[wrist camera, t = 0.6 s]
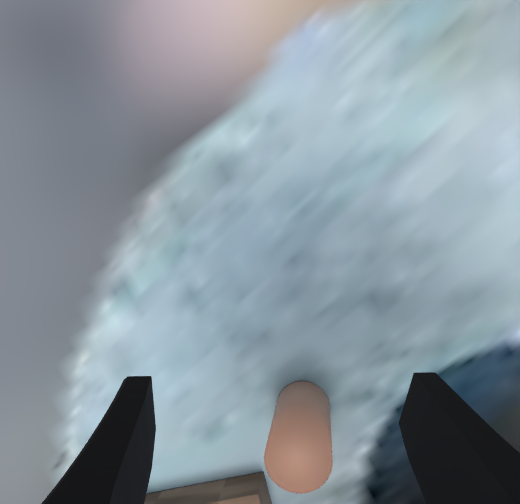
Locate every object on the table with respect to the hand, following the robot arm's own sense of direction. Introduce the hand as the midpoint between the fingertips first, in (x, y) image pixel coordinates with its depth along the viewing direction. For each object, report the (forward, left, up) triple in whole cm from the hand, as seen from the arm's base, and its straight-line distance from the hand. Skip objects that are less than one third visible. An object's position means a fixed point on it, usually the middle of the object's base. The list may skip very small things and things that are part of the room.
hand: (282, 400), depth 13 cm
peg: (-9, +2, -22) cm, 24 cm away
